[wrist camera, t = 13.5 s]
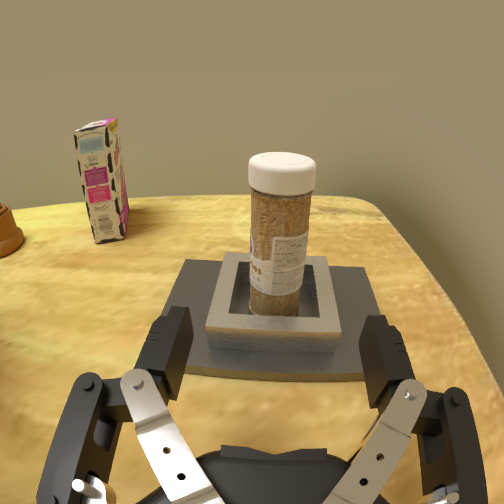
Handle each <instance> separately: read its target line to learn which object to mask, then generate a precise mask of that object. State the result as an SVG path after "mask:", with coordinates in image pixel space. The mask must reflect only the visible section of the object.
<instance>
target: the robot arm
mask: <svg viewBox="0 0 504 504" xmlns="http://www.w3.org/2000/svg"><path fill="white" fill-rule="evenodd" d="M193 335H194V332H193V325H192V320H191V315H190V310H189V307H185V306H174V305H172V306H171V308H170V310H169V312H168V315H167V316H159V317H158V318H157V319H156V320H155V321H154V322H153V324H152V326H151V328H150V331H149V334H148V335H147V338H146V341H145V343H144V345H143V347H142V350H141V352H140V355H139V357H138V360H137V362H136V365H135V367H134V369H133V370H130V371H128V372H126V373H125V374H124V375H123V377H121V378H115V379H103V380H102V379H101V378H100V376H99V375H97V374H96V373H92V372H87V373H84V374H82V375H80V376H79V377H78V378H77V379H76V381H75V382H74V385H73V387H72V390H71V392H70V395H69V397H68V400H67V402H66V405H65V407H64V410H63V413H62V415H61V418H60V421H59V423H58V426H57V429H56V432H55V435H54V438H53V441H52V444H51V447H50V450H49V453H48V456H47V459H46V462H45V466H44V469H43V473H42V476H41V480H40V483H39V487H38V491H37V496H36V500H37V504H116V494H115V492H114V490H113V488H112V487H111V486H109V485H108V480H109V475H110V471H111V467H112V462H113V458H114V454H115V450H116V446H117V442H118V438H119V434H120V431H121V427H122V423H123V422H134V423H135V426H136V428H135V431H136V433H137V436H138V438H139V440H140V443H141V445H142V447H143V449H144V451H145V453H146V456H147V458H148V460H149V462H150V464H151V466H152V468H153V470H154V472H155V474H156V476H157V477H158V479H159V481H160V483H161V486H160V487H158V488H157V489H156V490H154V491H153V492H152V493H150V494H149V495H147V496H146V497H145V498H143V499H142V500H140V501H139V502H137V503H136V504H390V503H389V502H387V501H386V500H385V499H384V498H383V497H382V496H381V495H380V494H379V493H380V492H381V490H382V489H383V487H384V486H385V484H386V483H387V481H388V479H389V478H390V476H391V474H392V473H393V471H394V469H395V468H396V466H397V464H398V462H399V461H400V459H401V457H402V455H403V453H404V452H405V450H406V448H407V446H408V444H409V442H410V439H411V437H409V436H410V433H414V434H417V440H418V448H419V456H420V466H421V476H422V490H423V497H421V498H420V499H419V500H418V502H417V503H416V504H488V496H487V487H486V479H485V472H484V465H483V459H482V454H481V449H480V444H479V439H478V434H477V430H476V426H475V422H474V417H473V414H472V410H471V406H470V402H469V399H468V396H467V394H466V393H465V392H464V391H463V390H462V389H460V388H457V387H451V388H449V389H447V390H446V391H445V393H439V392H433V391H429V390H426V388H425V387H424V385H423V384H422V383H421V382H419V381H417V380H416V379H415V376H414V373H413V369H412V366H411V363H410V360H409V357H408V354H407V352H406V347H405V345H404V342H403V339H402V336H401V333H400V332H399V331H398V330H397V329H396V327H395V326H389V325H388V322H387V319H386V317H385V315H368V316H367V318H366V321H365V324H364V327H363V329H362V332H361V335H360V338H359V352H360V357H361V362H362V367H363V372H364V377H365V383H366V388H367V394H368V400H369V406H370V409H373V408H378V412H379V414H378V415H377V417H376V419H375V420H374V422H373V423H372V425H371V427H370V428H369V430H368V431H367V433H366V434H365V436H364V437H363V439H362V440H361V442H360V443H359V445H358V446H357V447H356V449H355V450H354V451H353V453H352V454H351V455H350V456H349V458H348V459H347V460H346V461H345V460H343V459H341V458H339V457H336V456H333V455H330V454H327V448H322V449H299V450H295V451H291V452H286V453H281V454H276V455H273V454H269V453H265V452H262V451H258V450H255V449H251V448H248V447H237V446H227V445H221V450H219V451H213V452H209V453H206V454H204V455H201V456H199V457H198V458H196V459H195V457H194V456H193V454H192V452H191V451H190V449H189V447H188V446H187V444H186V442H185V440H184V439H183V437H182V435H181V433H180V432H179V430H178V428H177V426H176V424H175V422H174V421H173V419H172V417H171V415H170V413H169V411H168V409H167V405H168V401H169V400H175V401H177V397H178V393H179V389H180V386H181V382H182V378H183V375H184V371H185V368H186V364H187V360H188V357H189V353H190V350H191V346H192V343H193Z"/></svg>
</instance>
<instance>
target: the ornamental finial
mask: <svg viewBox="0 0 504 504" xmlns="http://www.w3.org/2000/svg"><path fill="white" fill-rule="evenodd" d="M23 238H24V235H23V231H22V230H21V229H20V228H19V227H17V226H16V223H15V220H14V217H13V215H12V212H11V209H10V207H7V206H6V205H1V203H0V257H3V256H6V255H8V254H10V253H12V252H14V251H15V250H16V249H17V248H19V247H20V245H21V244H22V242H23Z"/></svg>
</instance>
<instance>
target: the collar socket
mask: <svg viewBox="0 0 504 504" xmlns="http://www.w3.org/2000/svg"><path fill="white" fill-rule="evenodd" d="M249 300H250V253H234V252H225V256H224V259H223V261H210V260H191V259H186V260H185V262H184V264H183V266H182V268H181V271H180V273H179V275H178V277H177V279H176V282H175V284H174V286H173V288H172V291H171V293H170V295H169V297H168V300H167V302H166V304H165V307H164V309H163V311H162V314H161V316H167V315H168V312H169V310H170V308H171V306H172V305H174V306H185V307H189V310H190V315H191V320H192V325H193V332H194V335H193V343H192V346H191V350H190V353H189V357H188V360H187V364H186V368H185V371H184V373H189V374H197V375H205V376H214V377H224V378H235V379H248V380H264V381H289V382H340V381H364V380H365V377H364V372H363V367H362V362H361V357H360V352H359V338H360V335H361V332H362V329H363V327H364V324H365V321H366V318H367V316H368V315H380V312H379V309H378V306H377V303H376V300H375V297H374V294H373V291H372V288H371V285H370V282H369V280H368V277H367V274H366V271H365V269H364V267H344V266H328V262H327V257H324V256H306V258H305V265H304V273H303V280H302V284H301V287H300V295H299V300H298V303H299V311H298V313H297V315H296V317H285V316H263V315H252V314H251V312H250V310H249Z"/></svg>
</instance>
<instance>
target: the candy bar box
mask: <svg viewBox="0 0 504 504" xmlns="http://www.w3.org/2000/svg"><path fill="white" fill-rule="evenodd" d="M73 133H74V138H75V146H76V153H77V159H78V166H79V172H80V177H81V183H82V187H83V193H84V197H85V202H86V207H87V211H88V216H89V220H90V224H91V228H92V232H93V236H94V240H95V243H96V244H97V243H103V242H109V241H116V240H121V239H124V238H125V234H126V226H127V219H128V212H129V205H128V199H127V193H126V186H125V180H124V173H123V166H122V158H121V148H120V139H119V130H118V119H117V118H111V119H106V120H100V121H96V122H92V123H89V124H88V125H86V126H84V127H82V128H80V129H78V130H76V131H75V132H73Z"/></svg>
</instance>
